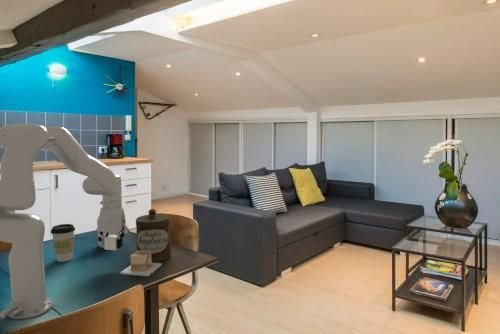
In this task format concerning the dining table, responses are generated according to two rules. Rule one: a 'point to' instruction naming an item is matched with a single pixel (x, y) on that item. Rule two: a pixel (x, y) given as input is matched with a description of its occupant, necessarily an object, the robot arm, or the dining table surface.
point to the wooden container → (154, 235)
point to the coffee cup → (63, 241)
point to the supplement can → (100, 239)
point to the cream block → (110, 242)
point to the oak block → (141, 260)
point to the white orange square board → (140, 272)
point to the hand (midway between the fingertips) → (113, 246)
